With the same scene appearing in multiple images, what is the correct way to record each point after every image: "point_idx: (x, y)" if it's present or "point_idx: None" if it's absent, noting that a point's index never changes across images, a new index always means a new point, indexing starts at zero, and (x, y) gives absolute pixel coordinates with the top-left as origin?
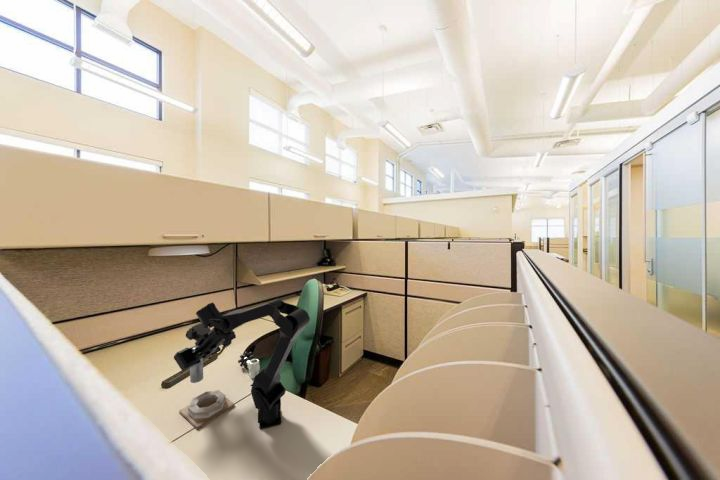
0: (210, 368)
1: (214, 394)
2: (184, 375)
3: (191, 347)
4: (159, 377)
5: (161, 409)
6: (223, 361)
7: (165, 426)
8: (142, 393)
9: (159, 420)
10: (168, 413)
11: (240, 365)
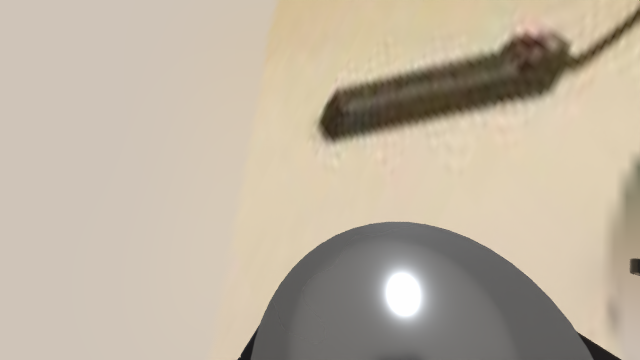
0: (489, 142)
1: None
2: (395, 110)
3: (343, 262)
4: (341, 63)
5: (258, 236)
6: (563, 135)
7: (216, 341)
8: (275, 107)
9: (226, 288)
10: (257, 279)
11: (636, 269)
